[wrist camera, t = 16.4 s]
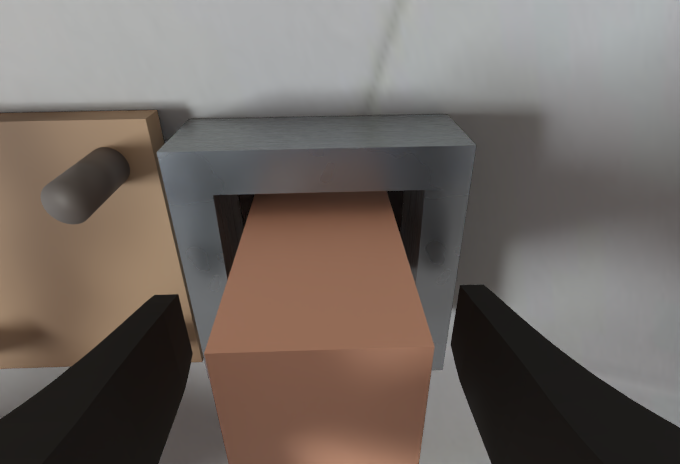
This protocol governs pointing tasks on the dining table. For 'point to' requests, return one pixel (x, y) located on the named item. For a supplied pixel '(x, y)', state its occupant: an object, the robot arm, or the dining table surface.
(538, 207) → the dining table surface
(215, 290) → the socket collar
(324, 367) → the pin
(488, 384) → the robot arm
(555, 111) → the dining table surface
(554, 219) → the dining table surface
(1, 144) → the board
